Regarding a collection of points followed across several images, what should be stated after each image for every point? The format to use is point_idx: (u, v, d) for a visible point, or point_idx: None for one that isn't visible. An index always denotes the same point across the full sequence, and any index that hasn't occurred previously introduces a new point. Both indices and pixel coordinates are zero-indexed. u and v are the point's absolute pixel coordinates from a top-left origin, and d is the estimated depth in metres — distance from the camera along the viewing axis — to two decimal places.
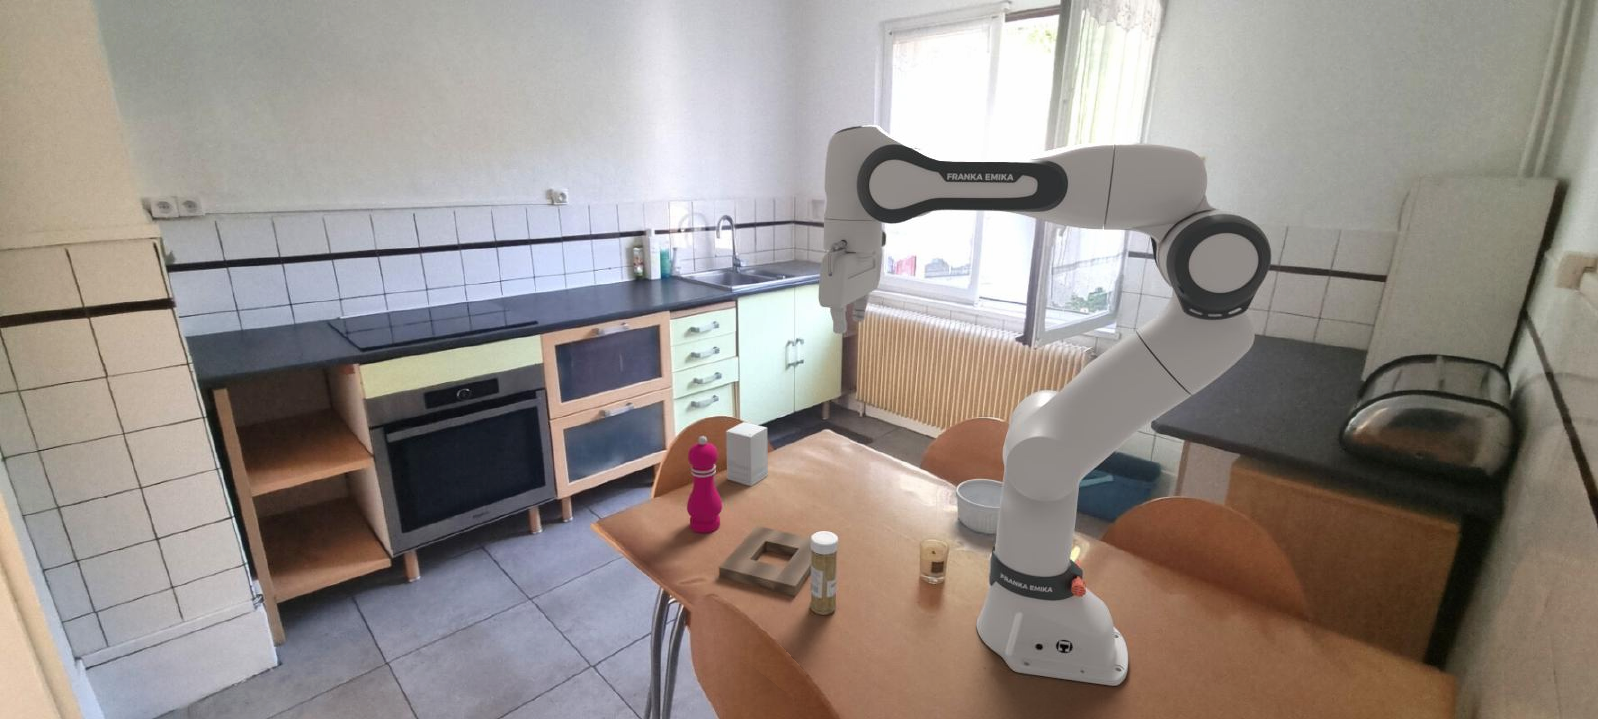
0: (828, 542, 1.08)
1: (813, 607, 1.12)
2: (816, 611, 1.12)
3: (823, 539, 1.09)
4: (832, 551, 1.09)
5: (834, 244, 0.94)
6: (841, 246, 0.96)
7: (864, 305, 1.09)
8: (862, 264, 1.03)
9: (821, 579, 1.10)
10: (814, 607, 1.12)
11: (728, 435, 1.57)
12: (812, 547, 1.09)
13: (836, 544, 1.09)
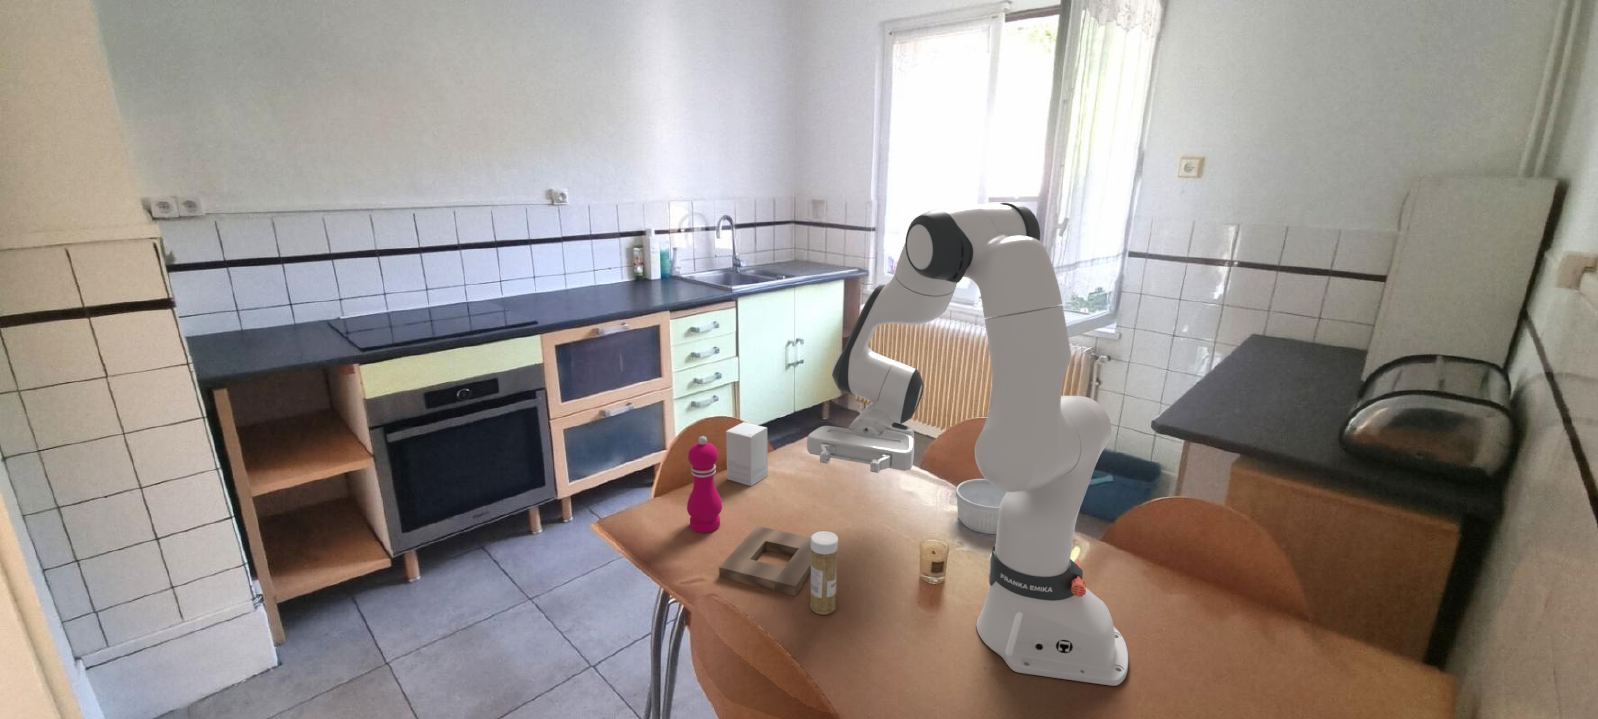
0: (828, 542, 1.08)
1: (813, 607, 1.12)
2: (816, 611, 1.12)
3: (824, 539, 1.09)
4: (832, 551, 1.09)
5: None
6: None
7: (880, 459, 1.19)
8: (868, 437, 1.27)
9: (821, 579, 1.10)
10: (814, 607, 1.12)
11: (728, 435, 1.57)
12: (812, 547, 1.09)
13: (836, 544, 1.09)
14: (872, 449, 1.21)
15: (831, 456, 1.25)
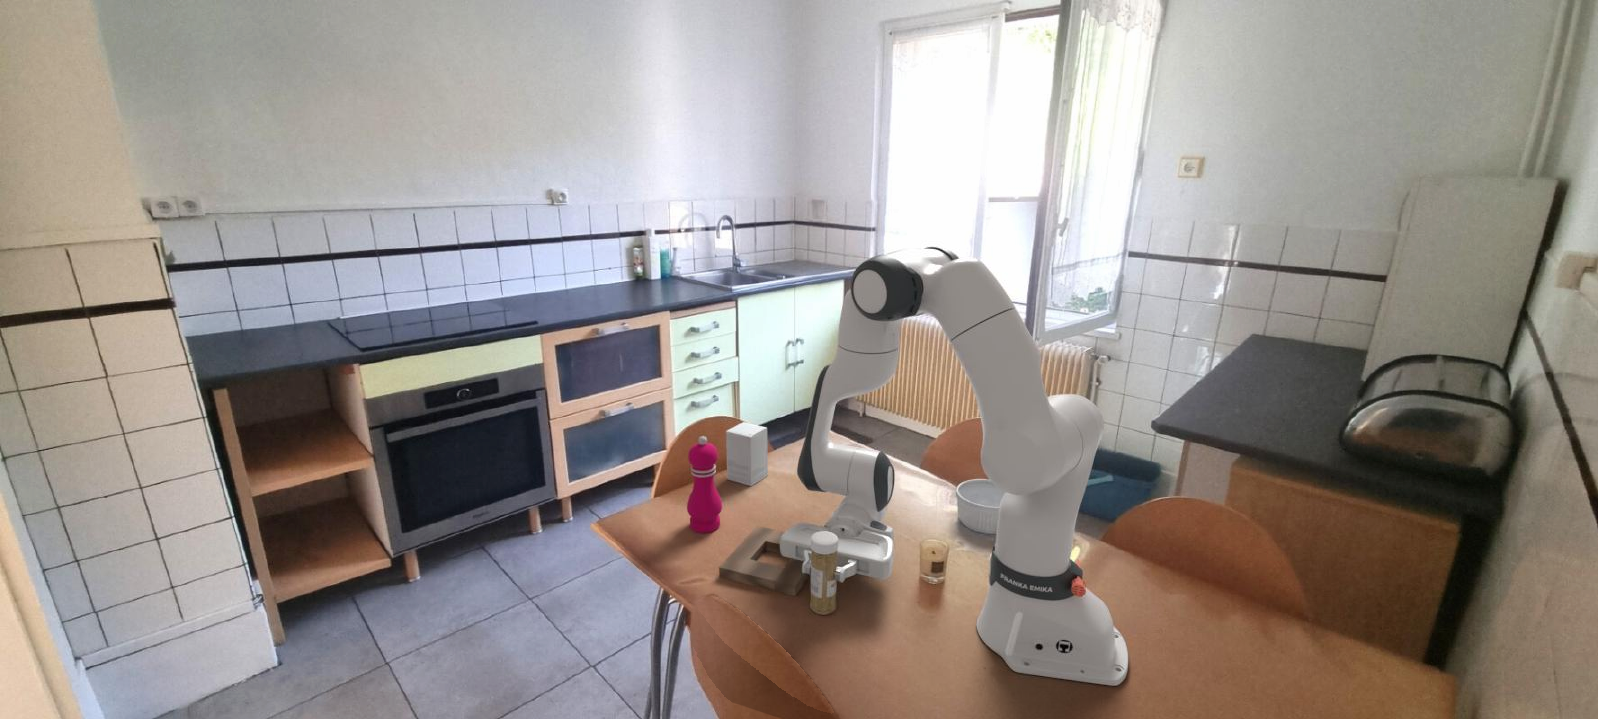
0: (828, 542, 1.08)
1: (813, 607, 1.12)
2: (816, 611, 1.12)
3: (823, 539, 1.09)
4: (832, 551, 1.09)
5: None
6: None
7: (846, 566, 1.12)
8: (844, 538, 1.19)
9: (821, 579, 1.10)
10: (814, 607, 1.12)
11: (728, 435, 1.57)
12: (812, 547, 1.09)
13: (836, 544, 1.09)
14: (848, 555, 1.14)
15: None
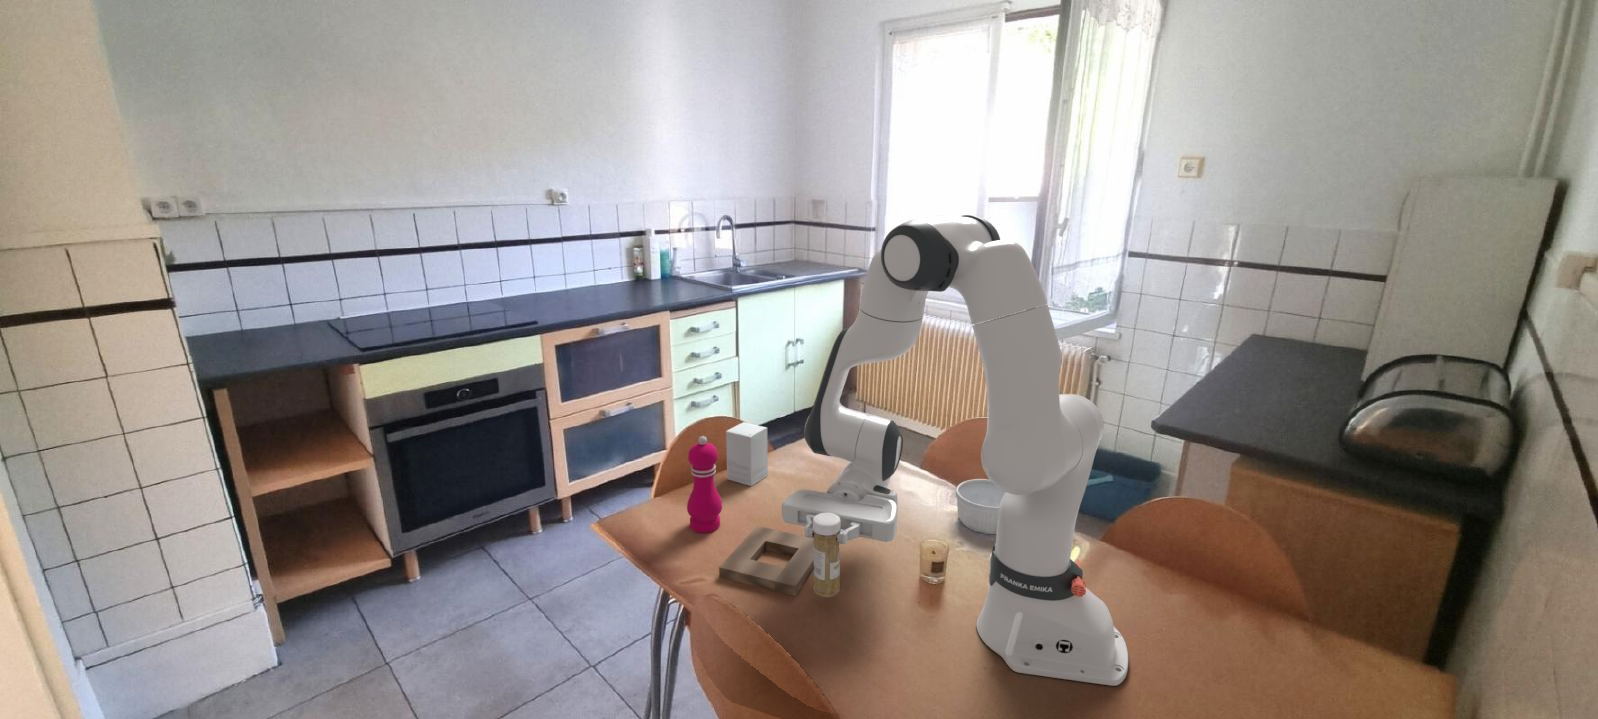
0: (830, 523, 1.07)
1: (816, 590, 1.11)
2: (819, 594, 1.10)
3: (825, 520, 1.08)
4: (834, 532, 1.07)
5: None
6: None
7: None
8: (847, 502, 1.17)
9: (824, 561, 1.08)
10: (817, 589, 1.11)
11: (728, 435, 1.57)
12: (814, 528, 1.08)
13: (838, 525, 1.08)
14: (851, 518, 1.11)
15: None
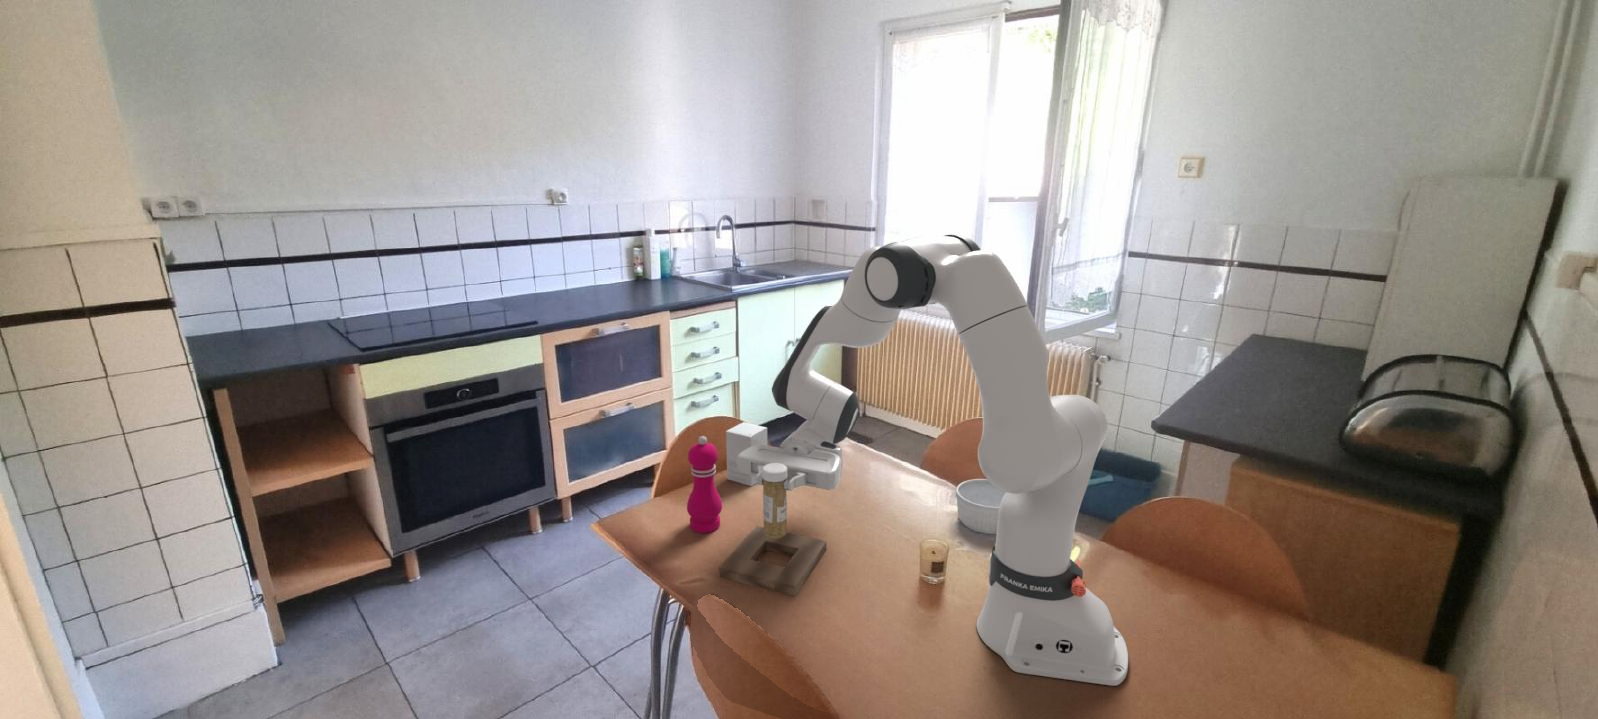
0: (777, 471, 1.19)
1: (765, 532, 1.23)
2: (768, 535, 1.23)
3: (773, 468, 1.20)
4: (781, 479, 1.20)
5: None
6: None
7: (795, 477, 1.22)
8: (797, 456, 1.29)
9: (772, 505, 1.21)
10: (766, 531, 1.23)
11: (728, 435, 1.57)
12: (763, 476, 1.20)
13: (785, 473, 1.20)
14: (798, 469, 1.24)
15: None
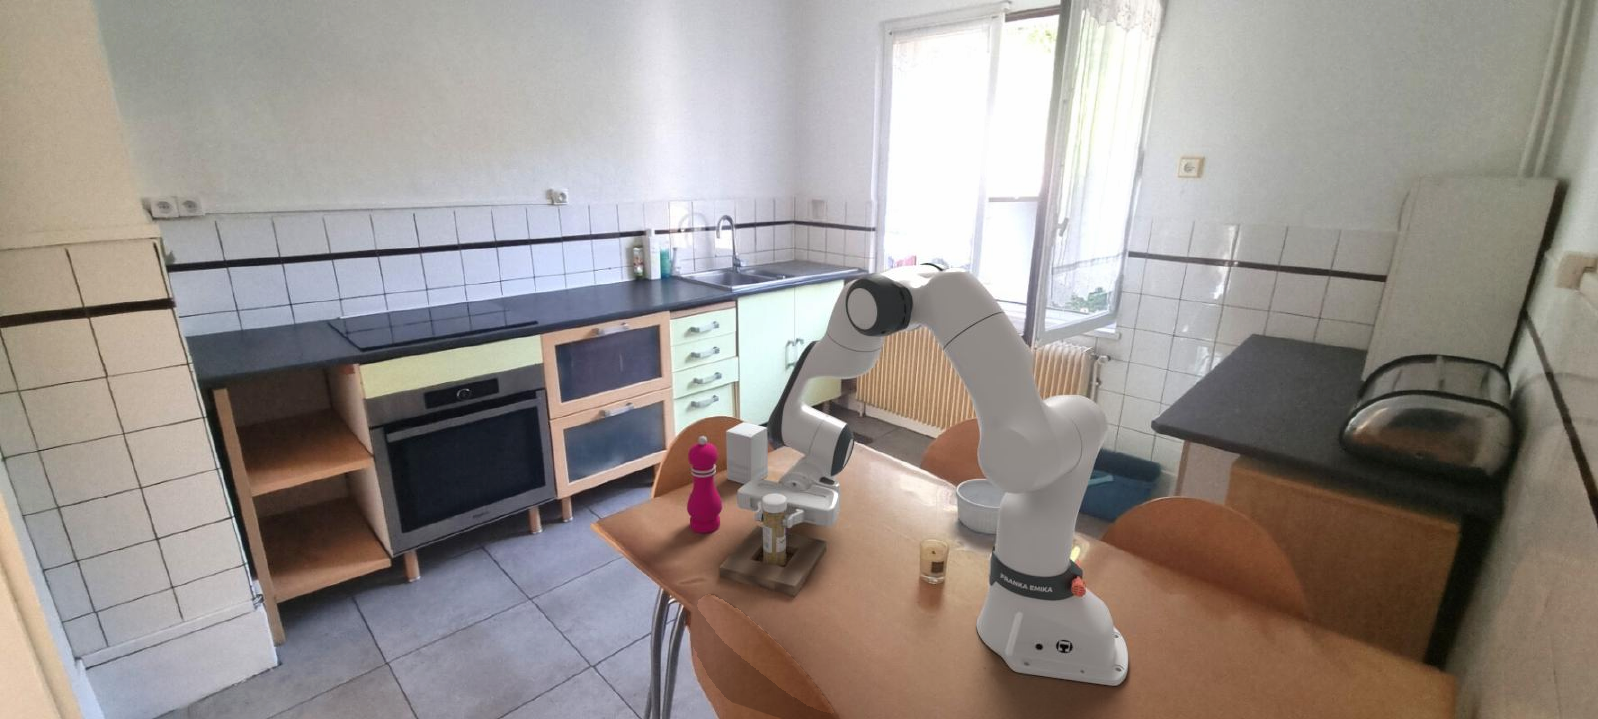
0: (777, 502, 1.21)
1: (765, 561, 1.25)
2: None
3: (773, 499, 1.22)
4: (780, 510, 1.21)
5: None
6: None
7: (793, 514, 1.24)
8: (795, 491, 1.31)
9: (771, 535, 1.23)
10: (766, 561, 1.25)
11: (728, 435, 1.57)
12: (763, 507, 1.22)
13: (784, 504, 1.22)
14: (796, 505, 1.26)
15: None
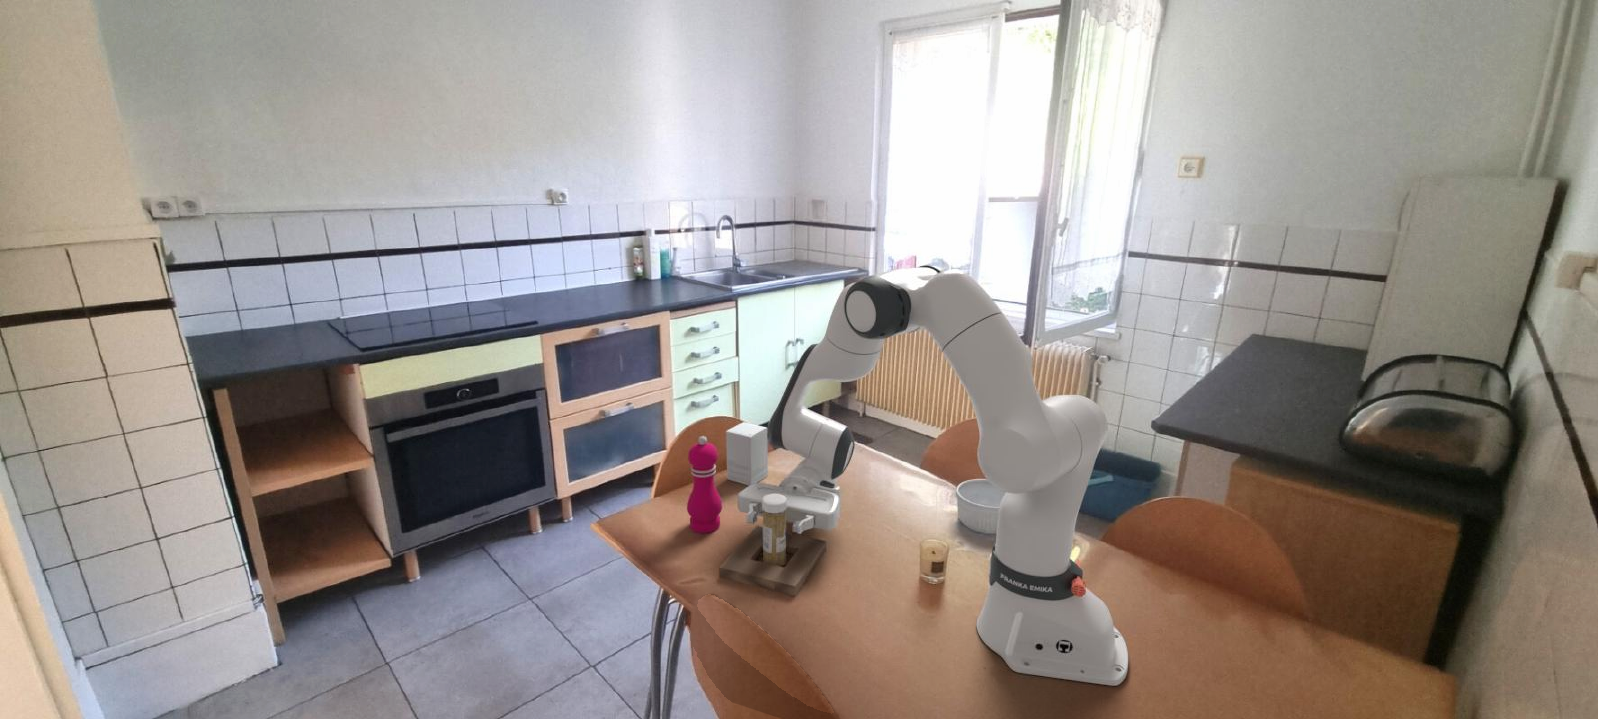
0: (777, 503, 1.21)
1: (765, 562, 1.25)
2: None
3: (773, 500, 1.22)
4: (780, 510, 1.21)
5: None
6: None
7: (804, 520, 1.23)
8: (796, 495, 1.31)
9: (771, 536, 1.23)
10: (765, 561, 1.25)
11: (728, 435, 1.57)
12: (763, 507, 1.22)
13: (784, 504, 1.22)
14: (797, 509, 1.26)
15: (760, 514, 1.29)
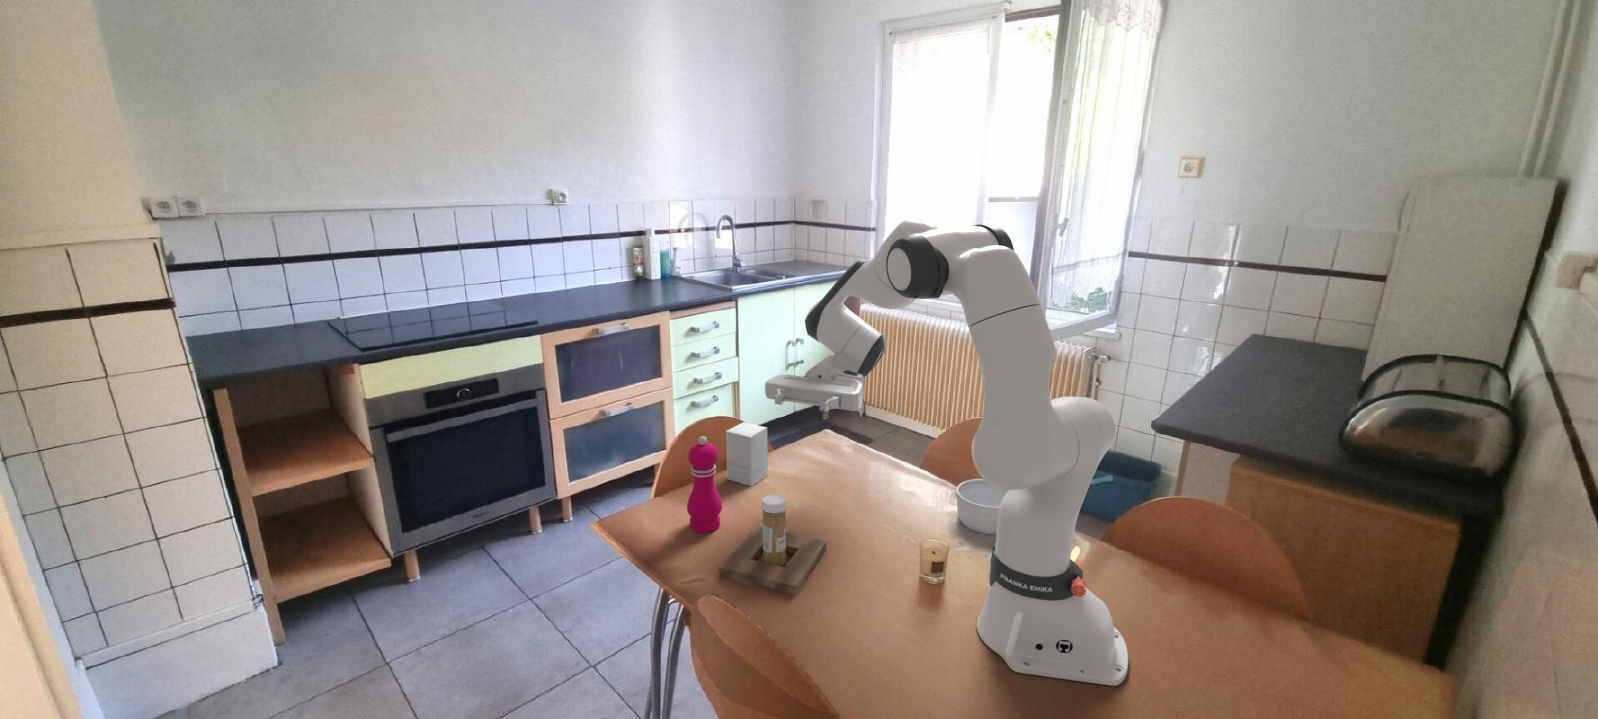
0: (777, 503, 1.21)
1: (765, 562, 1.25)
2: None
3: (773, 500, 1.22)
4: (780, 510, 1.21)
5: None
6: None
7: None
8: (821, 382, 1.38)
9: (771, 536, 1.23)
10: (765, 561, 1.25)
11: (728, 435, 1.57)
12: (763, 507, 1.22)
13: (784, 504, 1.22)
14: (823, 391, 1.32)
15: (786, 400, 1.36)
